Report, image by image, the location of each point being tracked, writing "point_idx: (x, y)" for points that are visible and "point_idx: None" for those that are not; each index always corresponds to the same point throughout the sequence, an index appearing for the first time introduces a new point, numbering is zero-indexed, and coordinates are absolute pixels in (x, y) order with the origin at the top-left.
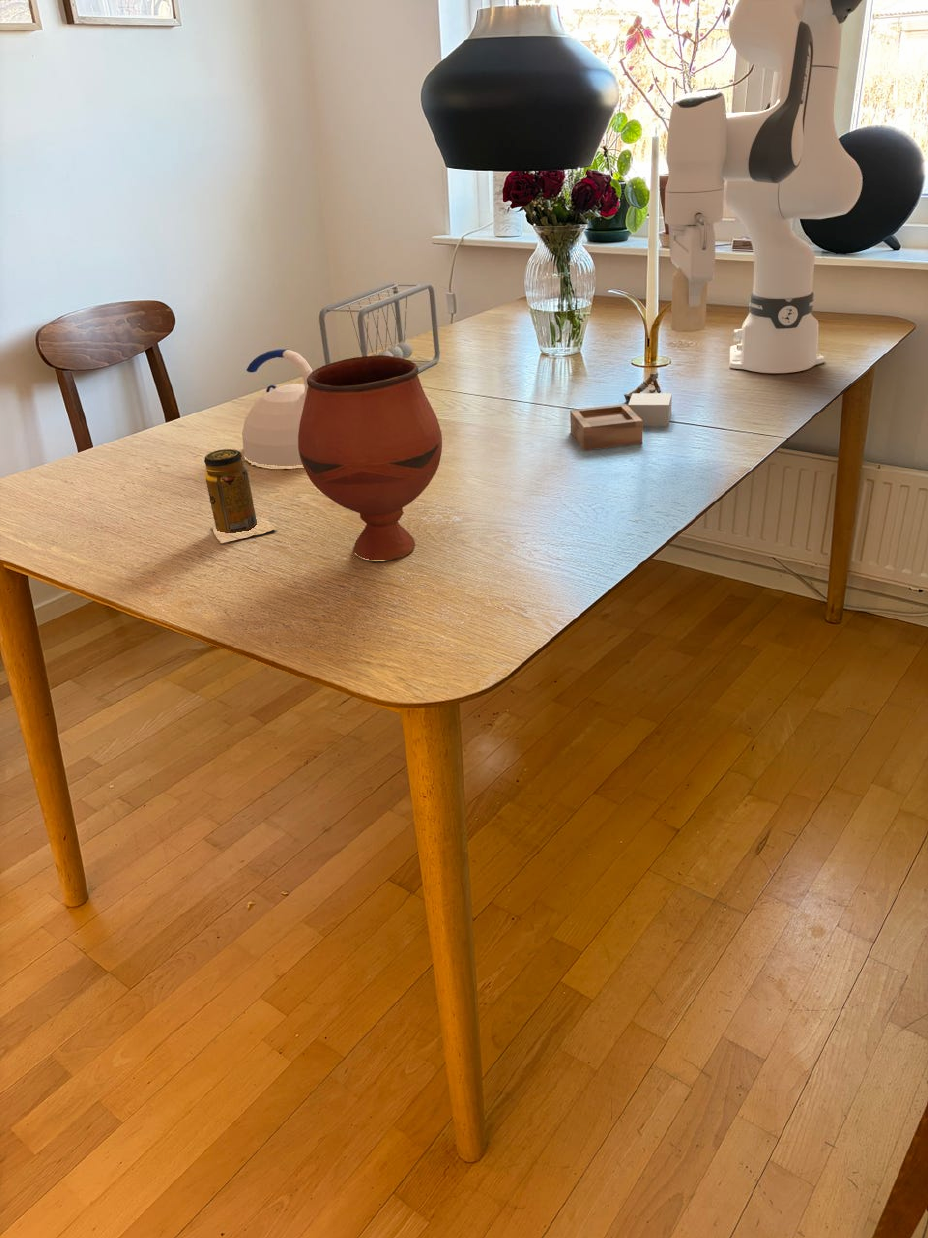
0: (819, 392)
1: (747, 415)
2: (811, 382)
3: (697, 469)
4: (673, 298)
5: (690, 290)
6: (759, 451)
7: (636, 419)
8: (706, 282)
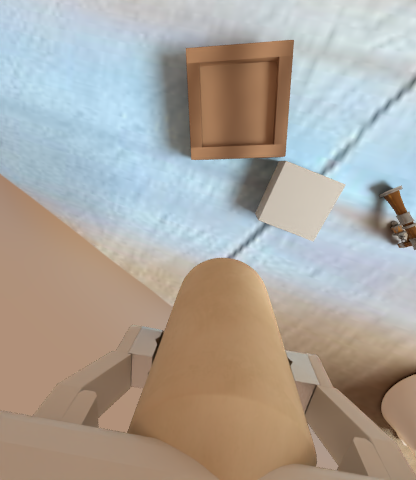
0: None
1: None
2: None
3: (95, 198)
4: (210, 308)
5: (86, 367)
6: (137, 275)
7: (199, 151)
8: None
